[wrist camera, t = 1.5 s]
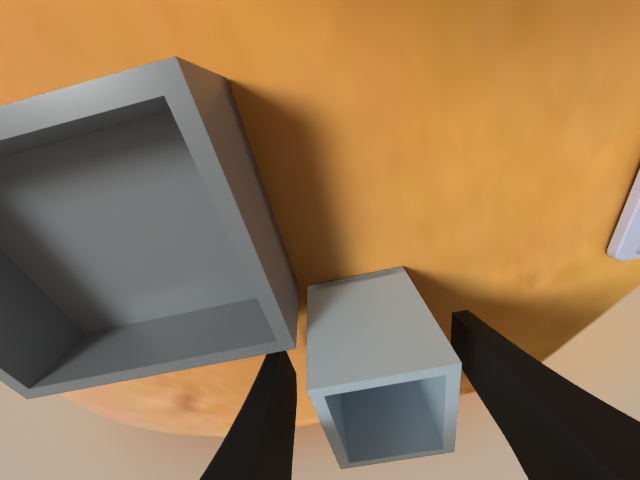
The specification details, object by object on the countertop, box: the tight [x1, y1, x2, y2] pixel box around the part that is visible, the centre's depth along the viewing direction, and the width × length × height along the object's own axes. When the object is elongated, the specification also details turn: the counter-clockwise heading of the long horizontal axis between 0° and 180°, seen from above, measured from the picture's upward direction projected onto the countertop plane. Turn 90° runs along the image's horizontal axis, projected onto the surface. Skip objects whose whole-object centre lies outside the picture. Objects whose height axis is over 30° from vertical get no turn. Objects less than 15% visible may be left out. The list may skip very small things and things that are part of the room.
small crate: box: [307, 266, 462, 469], centre depth 10 cm, size 4×5×4 cm
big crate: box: [0, 56, 299, 399], centre depth 8 cm, size 10×8×3 cm
